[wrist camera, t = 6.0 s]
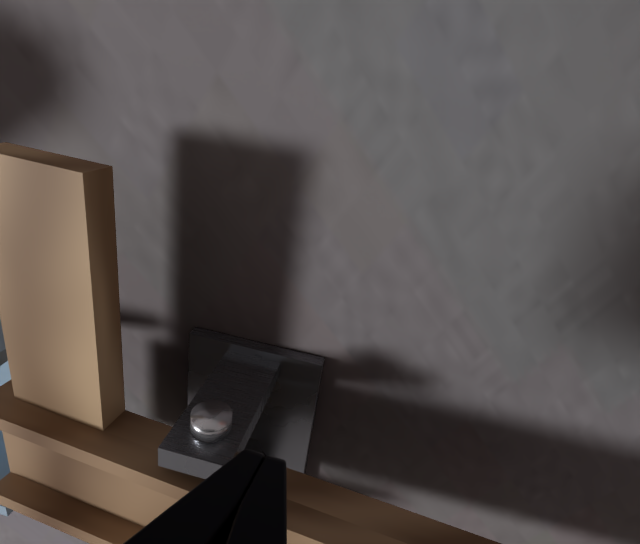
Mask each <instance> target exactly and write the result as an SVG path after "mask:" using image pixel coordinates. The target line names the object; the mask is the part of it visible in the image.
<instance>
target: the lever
mask: <svg viewBox="0 0 640 544" xmlns="http://www.w3.org/2000/svg"><path fill="white" fill-rule="evenodd" d="M0 319H1V325H2V330H3V336H4V341H5V347H6V353H7V358H8V364H9V369H10V375H11V380H9V381H8V382H6V383H5V384H3V385H2V386H0V430H1V431H2V433H3V438H4V443H5V448H6V453H7V458H8V463H9V468H10V473H8V474H7V475H6V476H5V477H4V478H2V479H1V480H0V505H2V506H5V507H7V508H9V509H12V510H14V511H16V512H19V513H21V514H23V515H25V516H28V517H30V518H32V519H35V520H37V521H39V522H42V523H44V524H46V525H48V526H51V527H53V528H55V529H58V530H60V531H62V532H64V533H67V534H69V535H71V536H74V537H76V538H78V539H81V540H83V541H85V542H87V543H90V544H123V543H124V542H125V541H127V540H128V539H129V538H131V537H132V536H133V535H134V534H136V533H137V532H138V531H140V530H141V529H142V528H143V527H145V526H146V525H147V524H149V523H150V522H151V521H152V520H154V519H155V518H156V517H158V516H159V515H160V514H161V513H163V512H164V511H165V510H167V509H168V508H169V507H170V506H172V505H173V504H174V503H176V502H177V501H178V500H179V499H181V498H182V497H183V496H185V495H186V494H187V493H188V492H190V491H191V490H192V489H194V488H195V487H196V486H197V485H199V484H200V483H201V482H203V481H204V480H205V479H203V478H199V477H196V476H192V475H189V474H185V473H182V472H178V471H175V470H171V469H167V468H164V467H160V466H158V447H159V446H160V444H161V443H162V441H163V440H164V439H165V437H166V436H167V434H168V433H169V432H170V430H171V429H172V427H171V426H168V425H166V424H163V423H160V422H157V421H154V420H152V419H149V418H146V417H143V416H140V415H137V414H135V413H132V412H129V411H126V410H125V399H124V380H123V361H122V342H121V323H120V303H119V284H118V265H117V246H116V227H115V208H114V189H113V169H112V166H109V165H104V164H100V163H95V162H91V161H87V160H82V159H78V158H73V157H69V156H64V155H60V154H55V153H51V152H47V151H42V150H38V149H33V148H29V147H24V146H20V145H16V144H11V143H7V142H5V143H0ZM286 472H287V544H501V543H498V542H495V541H492V540H489V539H487V538H484V537H481V536H478V535H475V534H473V533H470V532H467V531H464V530H461V529H458V528H456V527H453V526H450V525H447V524H444V523H442V522H439V521H436V520H433V519H430V518H427V517H425V516H422V515H419V514H416V513H413V512H411V511H408V510H405V509H402V508H399V507H396V506H394V505H391V504H388V503H385V502H382V501H380V500H377V499H374V498H371V497H368V496H366V495H363V494H360V493H357V492H354V491H351V490H349V489H346V488H343V487H340V486H337V485H335V484H332V483H329V482H326V481H323V480H320V479H318V478H315V477H312V476H309V475H306V474H304V473H301V472H298V471H295V470H292V469H290V468H287V467H286Z"/></svg>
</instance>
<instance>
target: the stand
mask: <svg viewBox="0 0 640 544" xmlns="http://www.w3.org/2000/svg"><path fill="white" fill-rule="evenodd" d="M324 359H325V358H323V357H319V356H315V355H311V354H307V353H302V352H298V351H294V350H290V349H286V348H281V347H277V346H273V345H269V344H265V343H260V342H256V341H252V340H248V339H244V338H240V337H235V336H231V335H227V334H223V333H219V332H214V331H210V330H206V329H202V328H198V327H195V328H194V329H193V330H192V331H191V332H190V333H189V363H188V406H187V408H186V409H185V411H184V412H183V413H182V415H181V416H180V418H179V419H178V420H177V422H176V423H175V425H174V426H173V427H172V429H171V430H170V432H169V433H168V434H167V436H166V437H165V439H164V440H163V441H162V443H161V444H160V446H159V447H158V466H160V467H164V468H167V469H171V470H175V471H178V472H182V473H185V474H189V475H192V476H196V477H199V478H203V479H206V478H208V477H209V476H210V475H212V474H213V473H214V472H215V471H217V470H218V469H219V468H221V467H222V466H223V465H224V464H226V463H227V462H228V461H230V460H231V459H232V458H233V457H235V456H236V455H237V454H239V453H240V452H241V451H243V450H244V449H250V450H254V451H257V452H260V453H263V454H264V455H265V457H266V456H268V455H270V456H274V457H277V458H280V459H283V460H285V461H286V467H287V468H290V469H292V470H295V471H298V472H301V473H304V474H305V469H306V463H307V458H308V452H309V446H310V440H311V434H312V429H313V423H314V417H315V411H316V405H317V399H318V394H319V388H320V382H321V376H322V370H323V364H324Z"/></svg>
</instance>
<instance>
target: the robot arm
mask: <svg viewBox="0 0 640 544" xmlns="http://www.w3.org/2000/svg"><path fill="white" fill-rule="evenodd" d="M123 544H287V472H286V461H285V460H283V459H280V458H277V457H274V456H270V455H268V456H266V457H265V455H264V454H263V453H260V452H257V451H254V450H250V449H244V450H243V451H241V452H240V453H239V454H237V455H236V456H235V457H233V458H232V459H231V460H230V461H228V462H227V463H226V464H224V465H223V466H222V467H221V468H219V469H218V470H217V471H215V472H214V473H213V474H212V475H210V476H209V477H208V478H206V479H205V480H204V481H203V482H201V483H200V484H199V485H197V486H196V487H195V488H194V489H192V490H191V491H190V492H188V493H187V494H186V495H185V496H183V497H182V498H181V499H179V500H178V501H177V502H176V503H174V504H173V505H172V506H170V507H169V508H168V509H167V510H165V511H164V512H163V513H161V514H160V515H159V516H158V517H156V518H155V519H154V520H152V521H151V522H150V523H149V524H147V525H146V526H145V527H143V528H142V529H141V530H140V531H138V532H137V533H136V534H134V535H133V536H132V537H131V538H129V539H128V540H127V541H125V542H124V543H123Z"/></svg>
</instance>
